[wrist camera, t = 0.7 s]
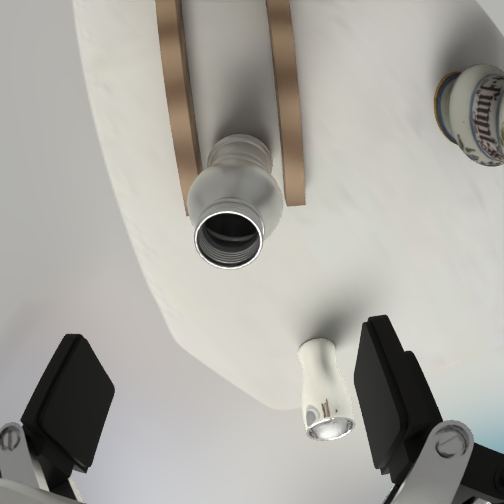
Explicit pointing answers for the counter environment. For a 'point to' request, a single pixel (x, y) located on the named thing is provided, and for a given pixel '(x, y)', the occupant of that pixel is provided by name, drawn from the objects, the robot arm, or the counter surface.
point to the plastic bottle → (234, 202)
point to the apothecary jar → (473, 112)
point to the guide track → (183, 105)
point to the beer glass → (324, 392)
